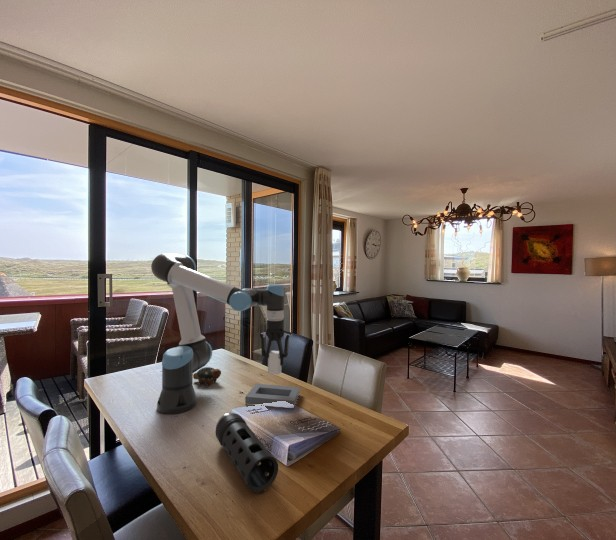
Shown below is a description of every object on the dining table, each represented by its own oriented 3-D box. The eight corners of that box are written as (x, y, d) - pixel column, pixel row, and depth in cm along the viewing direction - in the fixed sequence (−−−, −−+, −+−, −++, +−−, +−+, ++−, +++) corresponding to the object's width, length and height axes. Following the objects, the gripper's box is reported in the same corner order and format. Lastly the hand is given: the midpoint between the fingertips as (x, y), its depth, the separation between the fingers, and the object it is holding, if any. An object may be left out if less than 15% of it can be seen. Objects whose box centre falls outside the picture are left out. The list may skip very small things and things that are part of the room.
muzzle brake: (245, 503, 75) (246, 462, 75) (213, 445, 98) (213, 414, 98) (279, 488, 80) (279, 450, 80) (240, 436, 103) (241, 407, 103)
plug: (271, 370, 134) (271, 350, 134) (280, 370, 134) (280, 351, 133) (269, 373, 130) (269, 353, 130) (278, 374, 130) (278, 353, 130)
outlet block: (245, 404, 126) (245, 396, 126) (255, 390, 140) (255, 383, 140) (293, 409, 123) (293, 400, 123) (299, 394, 137) (299, 387, 137)
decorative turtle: (217, 388, 142) (216, 372, 142) (188, 387, 145) (187, 371, 144) (226, 379, 152) (225, 364, 151) (199, 379, 154) (197, 364, 154)
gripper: (253, 320, 129) (253, 373, 129) (292, 321, 126) (291, 376, 127) (259, 317, 136) (258, 368, 137) (295, 318, 134) (295, 370, 134)
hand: (274, 372), depth 132 cm, fingers closed on plug, 4 cm apart
